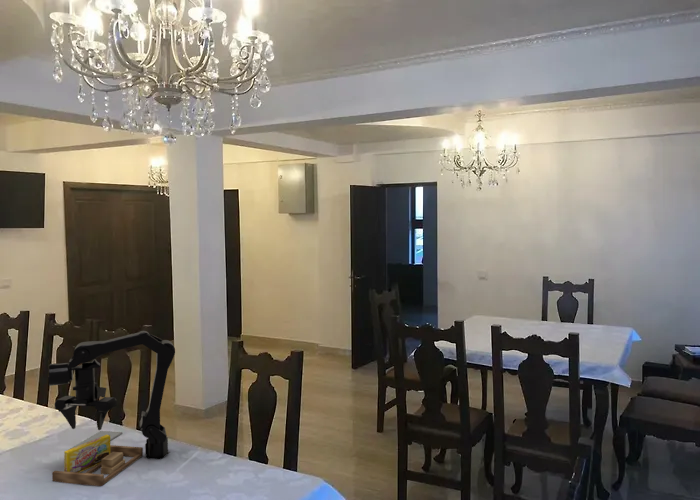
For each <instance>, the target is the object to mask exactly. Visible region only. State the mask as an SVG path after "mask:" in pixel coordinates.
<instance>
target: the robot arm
mask: <svg viewBox="0 0 700 500" xmlns="http://www.w3.org/2000/svg"><path fill="white" fill-rule="evenodd" d="M140 345H143V346H145V347H146V348H147V349H149V350H151V351H152V352H154V353H155V354H156V355H155V364H156V366H155V372H154V376H153V382H152V388H151V391H150V397H149V402H148V407H147V409H146V411H144V410H142V411H141V418H140V421H139V429H140V430H141V434H142V436H143V437H145V438H146V440H145V441H146V442H145V444H144V447H145V448H144V449H145V456H144V457H143V459H149V460H151V459H152V460H162V459H164V458H165V457H166V456H168V455H170V453H171V451H169V437H167V431H166V427H165V426H164V425H162V424H161V405H162V400H163V395H164V392H165V384H166V381H167V375H168V371H169V368H170V366H171V365H172V362H173V360H174V357H175V354H176V349H175V345H174V344H173V342H172V341H170V340H168V339H162V338H160V337H157V336H156V335H153V334H151V333H149V331H146V330H141V331H138V332H136V333H131V334H128V335H123V336H118V337H115V338H110V339H107V340H93V341H92V340H90V341H82V342H79V343H78V344H77V345H76V347H75V348H74V351H73V352H72V353H73V354H72V355H73V356H71V358H70V359H69V361H68V362H64V363H63V362H62V363H50V364H49V365H48V367H49V370H48V378H47V380H48V386H49V387H51V386H53V387H54V386H60V385H61V386H62V385H69V384H70V382H71V381H73V380H74V386H72V391H75V395H64V396H62V397H60V398H58V399H56V400H55V402H54V410H58V412H59V413H60V414H61V415H62V416H63V417H64V419H66V421H67V423H68V424H69V426H70V427H71V429H72V430H75V429H76V427H77V422H76V421H77V418H76V410H77V407H95V409H96V411H94V415H95V419H96V427H97V430H98V431H102V427H103V425H104V422H105V419H106V416H107V414H108V412H109V411H110V410H112V409H113V408H115V407H117V406H118V402H117V401H118V400H117V399H116V397H111V396H106V392H107V387H103V386H99V385H98V382H95V379H96V378H95V369H97V368H100V367H101V363H100V362H98V361H97V358H99V357H102V355H105V354H108V353H113V352H116V351H120V350H124V349H129V348H132V347H136V346H140ZM80 364H81V365H80ZM100 397H101V398H100Z"/></svg>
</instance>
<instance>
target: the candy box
mask: <svg viewBox="0 0 700 500" xmlns="http://www.w3.org/2000/svg"><path fill="white" fill-rule="evenodd" d="M110 445H111V441H110V435H104V436H102V437H99V438H97V439H94V440H92V441H89V442H87V443H84V444H82V445H79V446H77V447H74V446H73V447H74V448H72V447H71V448H72V449H70V448H69V449H67V450H64V451H63V453H64V454H63V456H64V458H63V459H64V460H63V463H64V464H63V465H64V466H63V467H64V468H63V469H64V470H63V471H65V472H78V473H83V472H84V471H86V470H88V469H89V470H90V469H92V468H93V467H95V466H96V465H98V464H99V463H101V462H102V460H101V459H103V458H104V457H106V456H107V455H109V454H110Z"/></svg>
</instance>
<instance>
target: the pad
mask: <svg viewBox="0 0 700 500" xmlns="http://www.w3.org/2000/svg"><path fill="white" fill-rule="evenodd" d="M122 434H123V431H113V430H112V431H111V430H109V431H108V430H99V431H98V432H96V433H94V434H92V435H91V436H89V437H87V438H86V439H84V440H83V441H81V442H79V443H77V444H76V445H74V446H72V447H69V449H72V448H74V447H77V446H79V445H82V444H84V443H87V442H89V441H92V440H94V439H97V438H99V437H102V436H104V435H110V442H112V441H114V440H115V439H117V438H118V437H120V436H121V435H122Z"/></svg>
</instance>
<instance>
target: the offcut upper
mask: <svg viewBox="0 0 700 500" xmlns="http://www.w3.org/2000/svg"><path fill="white" fill-rule="evenodd" d="M123 459H124V456H123V453H122V452H112V453H110V454H109V455H107V456H106V457H104V458H103V459H101V460H102V467H107V468H113V467H114V466H115V465H117V464H118V463H120V462H121V461H123Z"/></svg>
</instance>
